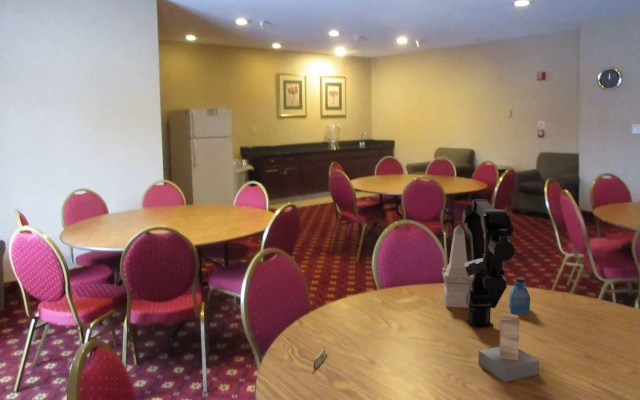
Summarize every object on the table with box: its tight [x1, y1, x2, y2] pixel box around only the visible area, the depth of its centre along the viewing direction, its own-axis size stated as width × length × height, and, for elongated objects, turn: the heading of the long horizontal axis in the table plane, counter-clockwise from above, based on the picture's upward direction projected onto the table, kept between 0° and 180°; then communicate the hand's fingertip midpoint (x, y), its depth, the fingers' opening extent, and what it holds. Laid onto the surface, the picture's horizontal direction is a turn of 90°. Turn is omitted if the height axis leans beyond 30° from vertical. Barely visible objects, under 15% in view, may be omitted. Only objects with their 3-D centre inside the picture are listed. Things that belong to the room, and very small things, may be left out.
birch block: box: [498, 313, 521, 360], centre depth 142 cm, size 4×4×11 cm
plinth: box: [478, 346, 540, 383], centre depth 143 cm, size 11×11×4 cm
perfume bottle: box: [508, 276, 531, 315], centre depth 186 cm, size 6×6×12 cm
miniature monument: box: [441, 224, 473, 309], centre depth 194 cm, size 10×10×30 cm
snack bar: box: [312, 347, 328, 371], centre depth 149 cm, size 10×2×3 cm, turn 159°
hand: (492, 302), depth 159 cm, fingers open, 9 cm apart
